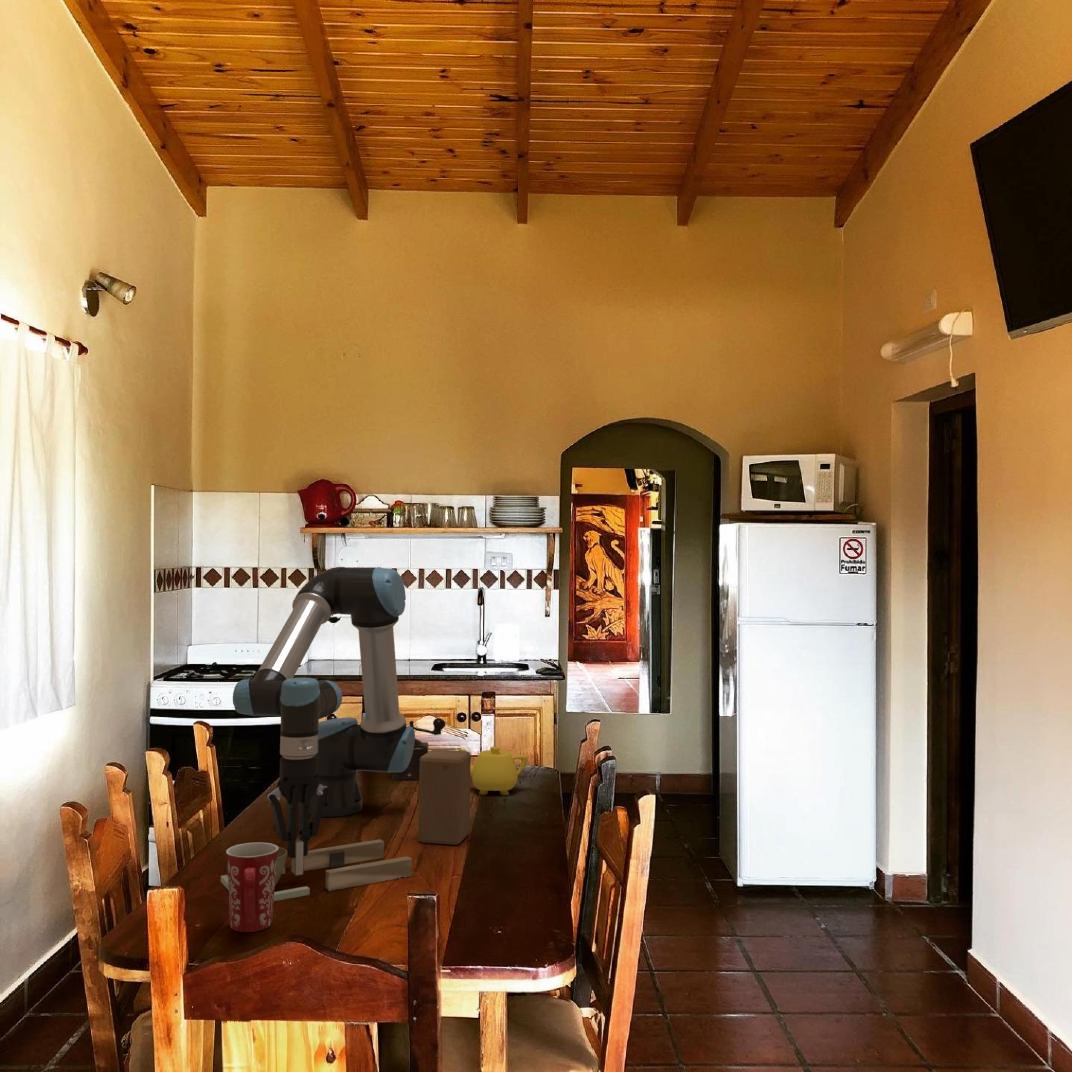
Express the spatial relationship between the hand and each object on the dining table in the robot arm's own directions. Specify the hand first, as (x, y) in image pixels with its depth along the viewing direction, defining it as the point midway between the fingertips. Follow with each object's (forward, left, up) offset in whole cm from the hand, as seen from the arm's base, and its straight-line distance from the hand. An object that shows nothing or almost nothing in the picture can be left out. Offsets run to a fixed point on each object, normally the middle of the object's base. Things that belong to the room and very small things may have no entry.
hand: (297, 872), depth 197 cm
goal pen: (0, -6, -2) cm, 6 cm away
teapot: (-46, +73, -2) cm, 86 cm away
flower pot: (0, -7, -2) cm, 8 cm away
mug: (+19, -15, -2) cm, 24 cm away
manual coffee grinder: (-72, +63, -2) cm, 96 cm away
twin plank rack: (0, +13, -2) cm, 13 cm away
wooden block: (-12, +40, -2) cm, 42 cm away
